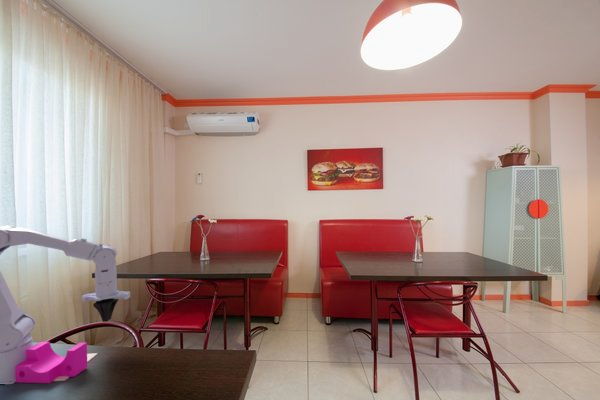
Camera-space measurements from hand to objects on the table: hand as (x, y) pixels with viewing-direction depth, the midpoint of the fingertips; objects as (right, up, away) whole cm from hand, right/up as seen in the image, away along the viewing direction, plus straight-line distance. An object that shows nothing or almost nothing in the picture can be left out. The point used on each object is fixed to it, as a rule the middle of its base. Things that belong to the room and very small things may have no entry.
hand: (107, 320), depth 79 cm
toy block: (-5, -9, -13) cm, 16 cm away
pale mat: (-4, -10, -9) cm, 14 cm away
